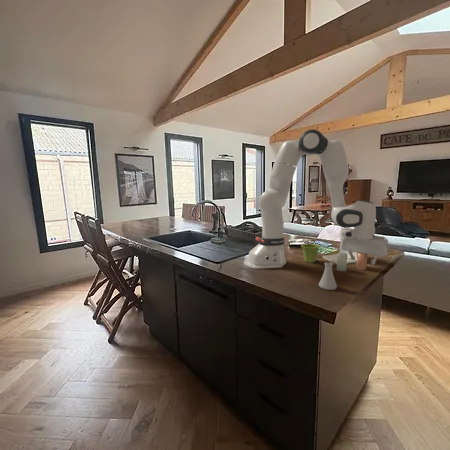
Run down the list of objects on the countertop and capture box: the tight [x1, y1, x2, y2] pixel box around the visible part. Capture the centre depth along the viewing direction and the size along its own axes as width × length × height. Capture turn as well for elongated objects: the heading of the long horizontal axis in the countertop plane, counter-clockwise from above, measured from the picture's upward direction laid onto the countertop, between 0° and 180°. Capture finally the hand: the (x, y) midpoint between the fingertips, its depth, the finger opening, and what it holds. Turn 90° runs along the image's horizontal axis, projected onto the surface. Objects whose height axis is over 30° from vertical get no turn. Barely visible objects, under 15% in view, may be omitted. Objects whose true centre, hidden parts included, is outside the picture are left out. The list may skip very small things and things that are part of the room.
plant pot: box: [301, 243, 320, 264], centre depth 139 cm, size 9×9×9 cm
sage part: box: [336, 252, 348, 272], centre depth 124 cm, size 4×4×8 cm
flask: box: [318, 261, 338, 291], centre depth 104 cm, size 7×7×10 cm
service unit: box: [322, 227, 357, 265], centre depth 140 cm, size 18×14×16 cm
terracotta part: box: [355, 252, 368, 271], centre depth 125 cm, size 4×4×8 cm
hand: (362, 261), depth 125 cm, fingers open, 8 cm apart
